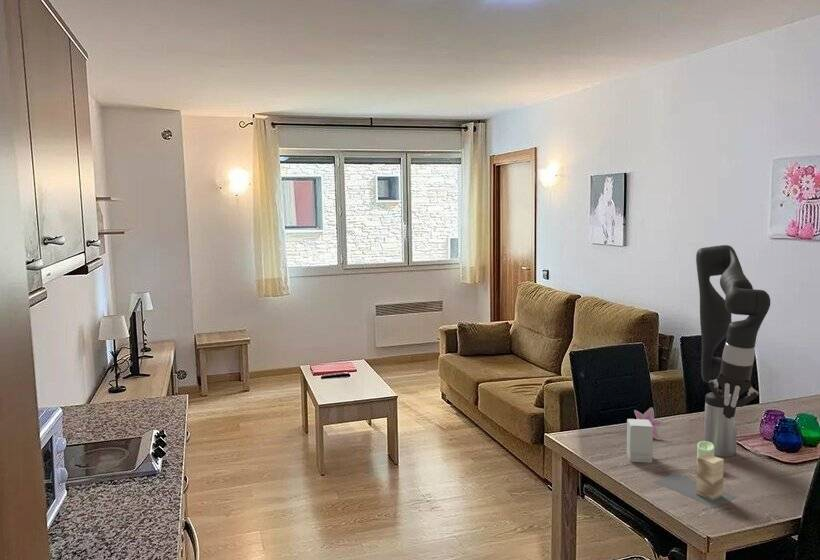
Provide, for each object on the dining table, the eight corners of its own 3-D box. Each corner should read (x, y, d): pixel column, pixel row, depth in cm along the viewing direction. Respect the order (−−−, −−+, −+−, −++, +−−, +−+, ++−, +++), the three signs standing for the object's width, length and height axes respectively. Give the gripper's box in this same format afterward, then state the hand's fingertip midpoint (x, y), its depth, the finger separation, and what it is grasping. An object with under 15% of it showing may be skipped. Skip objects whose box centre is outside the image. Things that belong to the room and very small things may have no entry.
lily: (622, 438, 226) (629, 421, 221) (628, 417, 235) (635, 400, 229) (654, 452, 222) (662, 435, 216) (660, 430, 231) (668, 413, 225)
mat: (736, 499, 175) (736, 497, 175) (714, 509, 169) (714, 507, 169) (674, 474, 192) (674, 472, 192) (652, 483, 186) (652, 481, 186)
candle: (713, 472, 193) (714, 447, 192) (696, 469, 196) (696, 445, 195) (714, 466, 198) (714, 442, 197) (697, 463, 200) (698, 439, 199)
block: (722, 496, 176) (723, 459, 174) (712, 501, 173) (713, 463, 172) (706, 490, 180) (707, 453, 179) (696, 494, 177) (697, 457, 176)
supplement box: (652, 463, 201) (653, 426, 200) (629, 461, 203) (630, 425, 201) (648, 454, 208) (649, 419, 207) (626, 453, 210) (626, 418, 208)
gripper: (767, 361, 164) (756, 419, 168) (714, 350, 171) (705, 405, 176) (763, 369, 158) (752, 429, 162) (708, 358, 165) (699, 415, 170)
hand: (728, 417), depth 169 cm, fingers closed
